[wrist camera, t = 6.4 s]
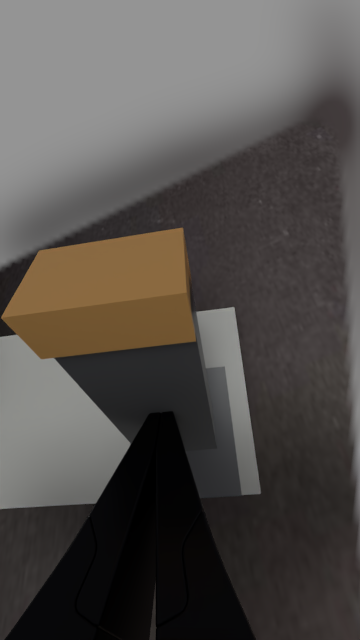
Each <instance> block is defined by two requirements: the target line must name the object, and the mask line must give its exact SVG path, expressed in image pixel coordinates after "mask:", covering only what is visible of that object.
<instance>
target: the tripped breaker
mask: <svg viewBox="0 0 360 640" xmlns="http://www.w3.org/2000/svg"><path fill="white" fill-rule="evenodd" d="M1 318H2V319H3V321H4V322H5V323H6V324H7V325H8V326H9V327H10V328H11V329H12V330H13V331H14V332H15V333H16V334H17V335H18V336H19V337H20V338H21V339H22V340H23V341H24V342H25V343H26V344H27V345H28V346H29V347H30V348H31V349H32V350H33V351H34V353H35V354H36V355H37V356H38V357H39V358H40V359H49V358H54V359H55V360H56V361H57V362H58V363H59V364H60V365H61V367H62V368H63V369H64V370H65V371H66V372H67V373H68V374H69V375H70V377H71V378H72V379H73V380H74V381H75V382H76V383H77V384H78V385H79V387H80V388H81V389H82V390H83V391H84V392H85V393H86V394H87V395H88V397H89V398H90V399H91V400H92V401H93V402H94V403H95V404H96V405H97V407H98V408H99V409H100V410H101V411H102V412H103V413H104V414H105V415H106V416H107V418H108V419H109V420H110V421H111V422H112V423H113V424H114V425H115V426H116V428H117V429H118V430H119V431H120V432H121V433H122V434H123V435H124V436H125V438H126V439H127V440H128V441H129V442H130V443H132V441H133V440H134V438H135V436H136V435H137V433H138V431H139V430H140V428H141V426H142V424H143V423H144V421H145V419H146V418H147V416H148V414H149V413H157V412H160V413H162V412H168V411H173V412H174V415H175V418H176V421H177V425H178V428H179V431H180V434H181V438H182V441H183V444H184V447H185V450H186V451H191V450H204V449H217V442H216V433H215V424H214V415H213V408H212V403H211V397H210V391H209V385H208V379H207V373H206V367H205V361H204V355H203V349H202V343H201V337H200V331H199V325H198V319H197V313H196V308H195V302H194V296H193V290H192V284H191V274H190V268H189V262H188V256H187V250H186V244H185V238H184V232H183V228H178V229H171V230H165V231H159V232H153V233H146V234H140V235H134V236H128V237H121V238H115V239H109V240H103V241H97V242H90V243H84V244H78V245H72V246H65V247H59V248H53V249H47V250H41V251H39V252H38V254H37V256H36V257H35V259H34V261H33V263H32V264H31V266H30V268H29V270H28V271H27V273H26V275H25V277H24V278H23V280H22V282H21V284H20V285H19V287H18V289H17V291H16V292H15V294H14V296H13V298H12V299H11V301H10V303H9V305H8V306H7V308H6V310H5V312H4V313H3V315H2V317H1Z"/></svg>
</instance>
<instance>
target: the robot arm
mask: <svg viewBox="0 0 360 640" xmlns="http://www.w3.org/2000/svg"><path fill="white" fill-rule="evenodd" d="M155 581H156V627H157V629H156V640H256V638H255V636H254V634H253V631H252V629H251V627H250V625H249V622H248V620H247V618H246V615H245V613H244V611H243V609H242V606H241V604H240V602H239V599H238V597H237V595H236V593H235V590H234V588H233V586H232V583H231V581H230V579H229V577H228V574H227V572H226V570H225V567H224V565H223V562H222V560H221V557H220V555H219V552H218V550H217V548H216V545H215V542H214V539H213V536H212V533H211V530H210V527H209V524H208V521H207V518H206V515H205V512H204V509H203V505H202V502H201V499H200V496H199V492H198V489H197V486H196V483H195V479H194V476H193V473H192V470H191V467H190V463H189V460H188V457H187V454H186V450H185V447H184V444H183V441H182V438H181V434H180V431H179V428H178V425H177V421H176V418H175V415H174V412H173V411H168V412H162V413H160V412H157V413H149V414H148V416H147V418H146V419H145V421H144V423H143V424H142V426H141V428H140V430H139V431H138V433H137V435H136V436H135V438H134V440H133V441H132V443H131V445H130V446H129V448H128V450H127V452H126V453H125V455H124V457H123V458H122V460H121V462H120V463H119V465H118V467H117V468H116V470H115V472H114V474H113V475H112V477H111V479H110V480H109V482H108V484H107V485H106V487H105V489H104V490H103V492H102V494H101V496H100V497H99V499H98V501H97V502H96V504H95V506H94V507H93V509H92V511H91V512H90V516H88V517H87V519H86V521H85V522H84V524H83V526H82V528H81V529H80V531H79V532H78V534H77V536H76V537H75V539H74V541H73V542H72V544H71V545H70V547H69V549H68V550H67V552H66V553H65V555H64V556H63V558H62V559H61V560H60V562H59V563H58V565H57V566H56V568H55V569H54V571H53V572H52V574H51V575H50V577H49V578H48V579H47V581H46V582H45V584H44V585H43V586H42V588H41V589H40V591H39V592H38V594H37V595H36V596H35V598H34V599H33V601H32V602H31V603H30V605H29V606H28V608H27V609H26V611H25V612H24V613H23V615H22V616H21V618H20V619H19V620H18V622H17V623H16V625H15V626H14V628H13V629H12V630H11V632H10V633H9V634H8V636H7V637H6V638H5V640H149V637H150V627H151V618H152V609H153V599H154V590H155Z"/></svg>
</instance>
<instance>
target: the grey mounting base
mask: <svg viewBox="0 0 360 640" xmlns="http://www.w3.org/2000/svg"><path fill="white" fill-rule="evenodd" d="M196 313H197V319H198V325H199V331H200V337H201V343H202V349H203V355H204V361H205V367H206V373H207V379H208V385H209V391H210V397H211V403H212V408H213V415H214V424H215V433H216V442H217V449H204V450H191V451H186V454H187V457H188V460H189V463H190V467H191V470H192V473H193V476H194V479H195V483H196V486H197V489H198V492H199V496H200V498H213V497H231V496H242V495H252V494H261V489H260V482H259V475H258V469H257V462H256V455H255V448H254V441H253V434H252V427H251V420H250V413H249V406H248V399H247V392H246V385H245V378H244V372H243V365H242V358H241V351H240V344H239V337H238V330H237V323H236V316H235V309H234V307H231V308H224V309H216V310H208V311H200V312H196ZM130 445H131V443H130V442H129V441H128V440H127V439H126V438H125V436H124V435H123V434H122V433H121V432H120V431H119V430H118V429H117V428H116V426H115V425H114V424H113V423H112V422H111V421H110V420H109V419H108V418H107V416H106V415H105V414H104V413H103V412H102V411H101V410H100V409H99V408H98V407H97V405H96V404H95V403H94V402H93V401H92V400H91V399H90V398H89V397H88V395H87V394H86V393H85V392H84V391H83V390H82V389H81V388H80V387H79V385H78V384H77V383H76V382H75V381H74V380H73V379H72V378H71V377H70V375H69V374H68V373H67V372H66V371H65V370H64V369H63V368H62V367H61V365H60V364H59V363H58V362H57V361H56V360H55V359H54V358H49V359H40V358H39V357H38V356H37V355H36V354H35V353H34V351H33V350H32V349H31V348H30V347H29V346H28V345H27V344H26V343H25V342H24V341H23V340H22V339H21V338H20V337H19V336H18V335H12V336H4V337H0V509H6V508H24V507H41V506H59V505H76V504H94V503H96V502H97V501H98V499H99V497H100V496H101V494H102V492H103V490H104V489H105V487H106V485H107V484H108V482H109V480H110V479H111V477H112V475H113V474H114V472H115V470H116V468H117V467H118V465H119V463H120V462H121V460H122V458H123V457H124V455H125V453H126V452H127V450H128V448H129V446H130Z"/></svg>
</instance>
